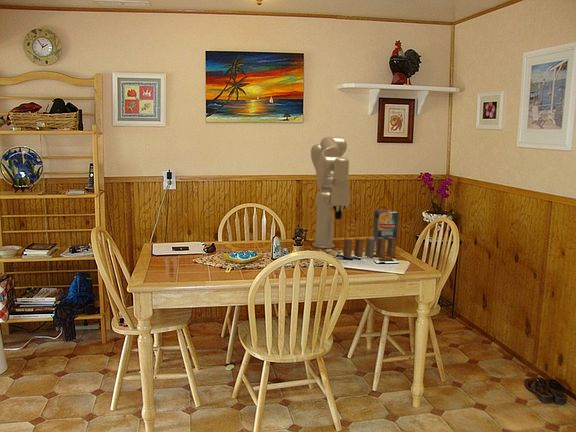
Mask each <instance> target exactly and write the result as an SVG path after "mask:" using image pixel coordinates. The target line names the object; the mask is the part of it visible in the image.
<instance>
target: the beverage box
mask: <svg viewBox="0 0 576 432" xmlns="http://www.w3.org/2000/svg"><path fill="white" fill-rule="evenodd" d="M373 220H374V221H373V233H372V239H374V240H375V242H374V252H376V248H377V237H381V238H384V239H386V241H385V252H386V253H387V244H388V237H393V238H395V239H396V240H397V233H398V232H397V231H398V220H399V212H398V211H395V210H385V209H384V210H374V219H373Z"/></svg>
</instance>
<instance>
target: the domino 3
mask: <svg viewBox="0 0 576 432" xmlns="http://www.w3.org/2000/svg"><path fill="white" fill-rule="evenodd" d="M374 242H375V240H374V239H373V237H366V238H365V250H364V253H365V254H364V256H365V257H366V256H367V257H366V258H368V257H369V258H370V259H374V254H375V253H374V252H375V250H374ZM369 258H368V259H369Z"/></svg>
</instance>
